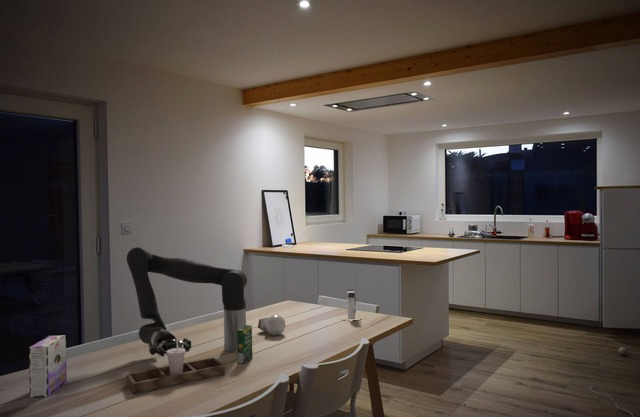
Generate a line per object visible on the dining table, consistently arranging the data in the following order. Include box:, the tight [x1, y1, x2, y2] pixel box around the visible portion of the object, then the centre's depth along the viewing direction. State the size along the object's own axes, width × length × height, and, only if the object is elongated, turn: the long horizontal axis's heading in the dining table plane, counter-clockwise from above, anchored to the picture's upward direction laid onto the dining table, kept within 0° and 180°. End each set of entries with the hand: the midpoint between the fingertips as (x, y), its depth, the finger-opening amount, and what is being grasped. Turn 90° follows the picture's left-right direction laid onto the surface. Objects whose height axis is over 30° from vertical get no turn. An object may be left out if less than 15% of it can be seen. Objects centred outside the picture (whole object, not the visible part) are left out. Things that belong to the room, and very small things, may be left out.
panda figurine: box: [346, 288, 357, 319], centre depth 252 cm, size 12×11×15 cm
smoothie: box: [166, 337, 186, 375], centre depth 165 cm, size 6×6×14 cm
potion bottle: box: [257, 314, 286, 336], centre depth 225 cm, size 9×10×15 cm
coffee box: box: [237, 324, 253, 365], centre depth 184 cm, size 8×3×13 cm, turn 162°
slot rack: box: [125, 357, 226, 396], centre depth 165 cm, size 31×11×4 cm, turn 123°
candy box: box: [28, 334, 68, 398], centre depth 158 cm, size 14×6×16 cm, turn 5°
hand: (175, 351), depth 166 cm, fingers open, 8 cm apart
